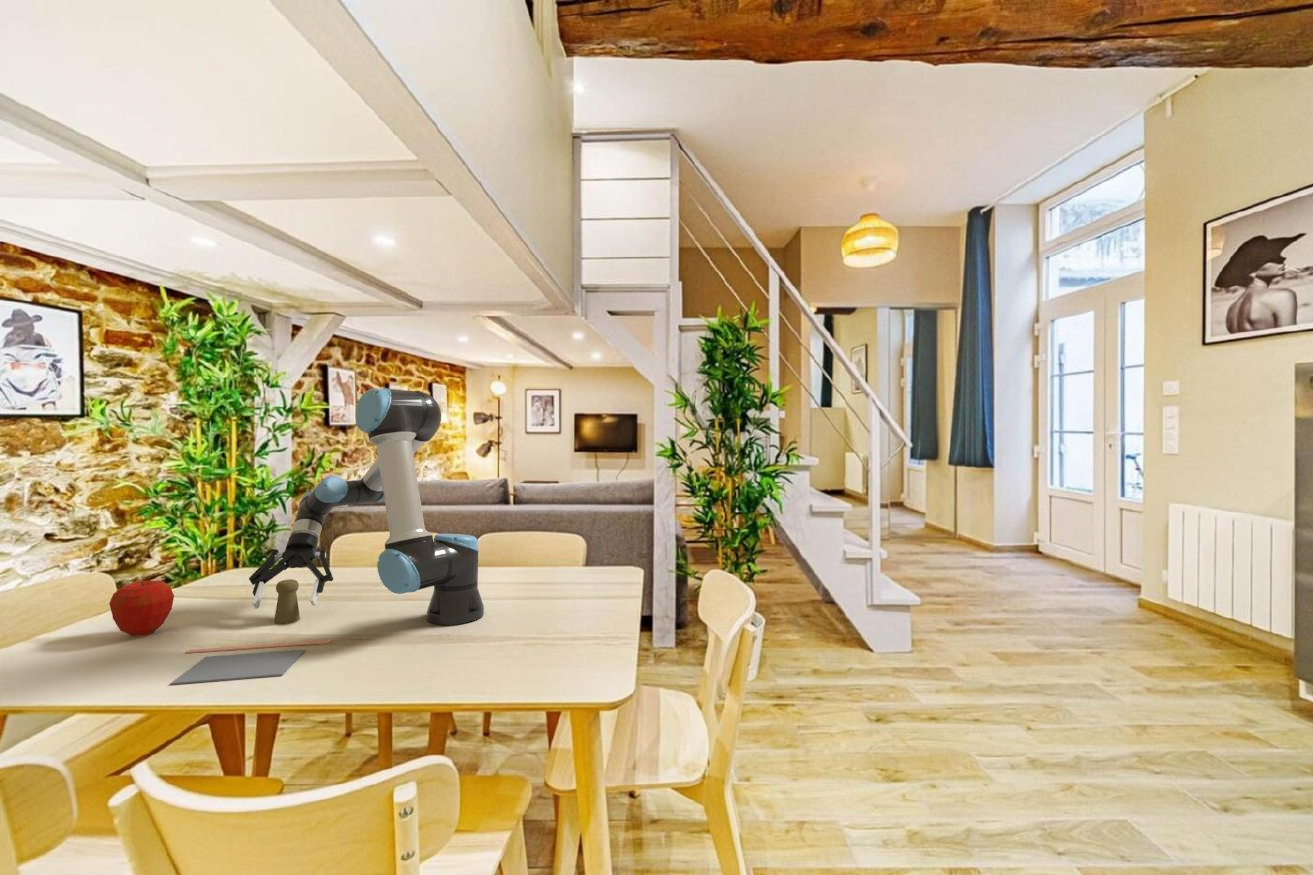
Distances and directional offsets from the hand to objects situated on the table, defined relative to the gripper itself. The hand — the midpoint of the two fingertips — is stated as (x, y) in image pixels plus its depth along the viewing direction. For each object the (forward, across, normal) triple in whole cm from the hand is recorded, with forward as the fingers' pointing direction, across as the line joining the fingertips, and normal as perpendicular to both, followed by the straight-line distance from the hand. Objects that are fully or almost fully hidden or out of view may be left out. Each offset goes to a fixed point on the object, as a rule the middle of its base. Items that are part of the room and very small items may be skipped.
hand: (284, 604), depth 154 cm
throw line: (+16, -1, +9) cm, 19 cm away
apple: (+5, +31, -2) cm, 31 cm away
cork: (+2, 0, -5) cm, 5 cm away
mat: (+25, -2, +18) cm, 31 cm away
